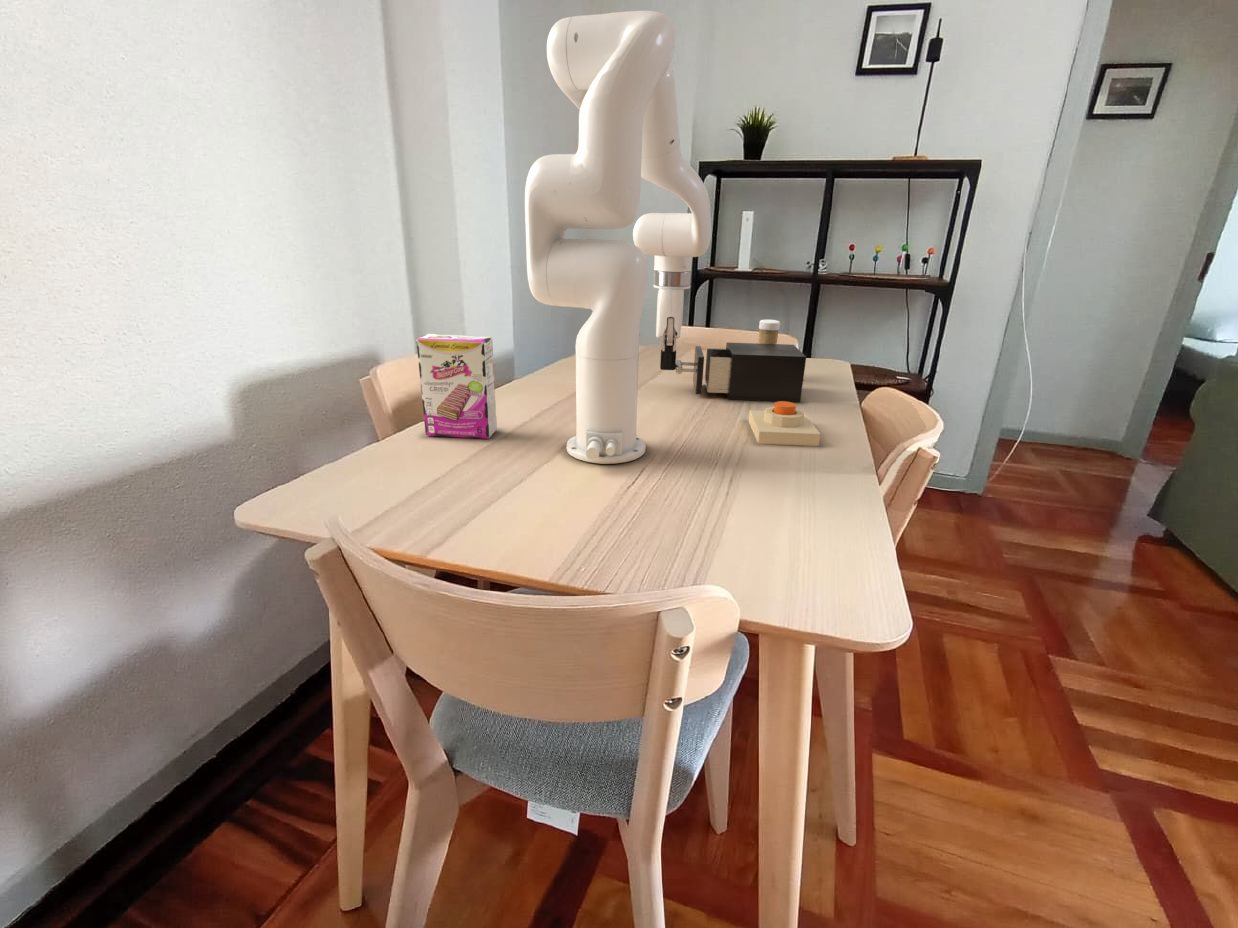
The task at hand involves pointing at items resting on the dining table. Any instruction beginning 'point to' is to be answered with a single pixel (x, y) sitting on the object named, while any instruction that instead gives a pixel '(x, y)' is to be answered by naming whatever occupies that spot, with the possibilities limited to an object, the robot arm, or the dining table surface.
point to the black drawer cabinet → (766, 372)
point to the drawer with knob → (709, 369)
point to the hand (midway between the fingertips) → (667, 369)
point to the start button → (784, 408)
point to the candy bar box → (457, 385)
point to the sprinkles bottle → (768, 331)
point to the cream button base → (783, 428)
